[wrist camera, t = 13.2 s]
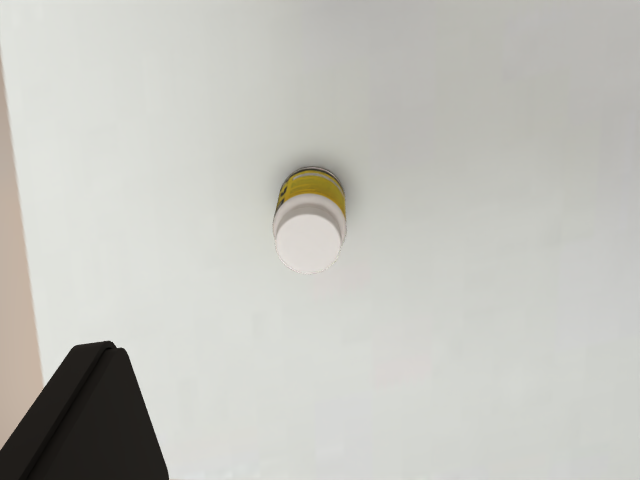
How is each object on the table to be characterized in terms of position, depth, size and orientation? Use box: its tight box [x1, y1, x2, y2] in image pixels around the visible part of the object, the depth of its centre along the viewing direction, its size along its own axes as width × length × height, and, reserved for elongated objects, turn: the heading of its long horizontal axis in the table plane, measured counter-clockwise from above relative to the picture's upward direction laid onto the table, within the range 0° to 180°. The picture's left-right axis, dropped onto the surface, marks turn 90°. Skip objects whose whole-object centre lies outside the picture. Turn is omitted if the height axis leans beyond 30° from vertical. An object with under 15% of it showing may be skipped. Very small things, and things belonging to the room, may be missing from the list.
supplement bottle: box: [273, 167, 347, 274], centre depth 40 cm, size 5×5×8 cm
